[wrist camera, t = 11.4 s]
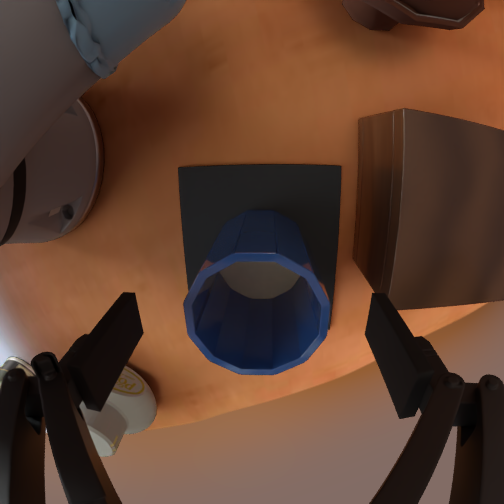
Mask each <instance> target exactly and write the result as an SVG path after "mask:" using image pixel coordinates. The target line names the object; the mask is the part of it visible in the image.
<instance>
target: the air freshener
mask: <svg viewBox="0 0 504 504" xmlns="http://www.w3.org/2000/svg"><path fill="white" fill-rule="evenodd" d="M80 408H81V410H82V413H83V416H84V418H85V421H86V424H87V427H88V429H89V432H90V435H91V437H92V440H93V442H94V445H95V447H96V450H97V452H98V454H99V456H105V457H108V456H112V455H114V454H115V452H116V450H117V448H118V446H119V443H120V441H121V439H122V437H123V435H124V434H134V433H138V432H141V431H143V430H145V429H146V428H148V427H149V426H150V425H151V424H152V422H153V421H154V419H155V416H156V410H157V406H156V400H155V397H154V394H153V392H152V390H151V389H150V387H149V386H148V384H147V383H146V382H145V380H144V379H143V378H142V377H141V376H140V375H138V374H137V373H136V372H135V371H133V370H132V369H130V368H129V367H127V366H125V367H124V369H123V371H122V373H121V374H120V376H119V378H118V380H117V382H116V384H115V386H114V387H113V389H112V391H111V393H110V395H109V397H108V399H107V401H106V403H105V405H104V406H103V408H102V410H101V412H98V411H94V410H90V409H87V408H86V406H85V404H84V402H83V401H82V402H81V404H80Z"/></svg>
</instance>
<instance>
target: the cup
mask: <svg viewBox="0 0 504 504" xmlns="http://www.w3.org/2000/svg"><path fill="white" fill-rule="evenodd" d="M183 306H184V313H185V320H186V327H187V334H188V336H189V337H190V338H191V340H192V341H193V342H194V343H195V345H196V346H197V347H198V348H199V349H200V351H201V352H202V353H203V354H204V355H205V357H206V358H207V359H208V360H209V361H211V362H213V363H215V364H217V365H219V366H222V367H224V368H226V369H228V370H231V371H233V372H235V373H237V374H241V375H274V374H275V375H276V374H278V373H281V372H283V371H286V370H288V369H290V368H293V367H295V366H297V365H300V364H302V363H304V362H305V361H307V360H308V359H309V357H310V356H311V355H312V354H313V353H314V352H315V350H316V349H317V348H318V347H319V345H320V344H321V343H322V342H323V341H324V339H325V338H326V336H327V331H328V323H329V314H330V301H329V298H328V295H327V292H326V290H325V287H324V284H323V281H322V278H321V276H320V273H319V270H318V267H317V265H316V262H315V259H314V257H313V254H312V251H311V249H310V246H309V244H308V242H307V240H306V238H305V236H304V235H303V233H302V231H301V229H300V228H299V226H298V224H297V223H296V222H294V221H292V220H290V219H289V218H287V217H285V216H283V215H282V214H280V213H278V212H276V211H273V210H247V211H245V212H243V213H241V214H240V215H238V216H236V217H235V218H233V219H231V220H229V221H228V222H226V223H225V224H224V225H223V227H222V229H221V231H220V233H219V234H218V236H217V238H216V240H215V242H214V244H213V246H212V248H211V249H210V251H209V253H208V255H207V257H206V259H205V261H204V263H203V265H202V267H201V269H200V271H199V273H198V275H197V276H196V278H195V280H194V282H193V284H192V286H191V288H190V290H189V292H188V294H187V296H186V298H185V300H184V303H183Z"/></svg>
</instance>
